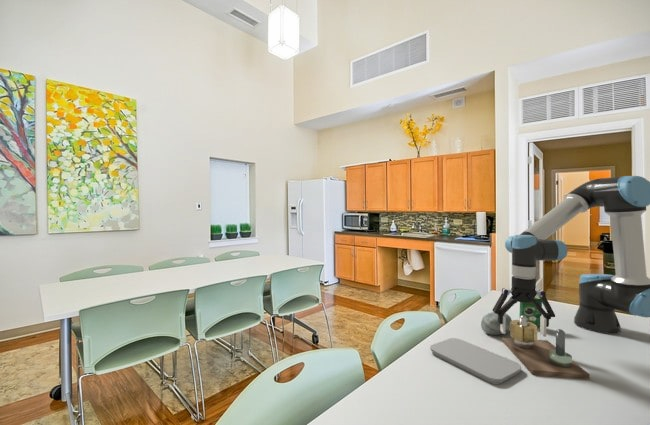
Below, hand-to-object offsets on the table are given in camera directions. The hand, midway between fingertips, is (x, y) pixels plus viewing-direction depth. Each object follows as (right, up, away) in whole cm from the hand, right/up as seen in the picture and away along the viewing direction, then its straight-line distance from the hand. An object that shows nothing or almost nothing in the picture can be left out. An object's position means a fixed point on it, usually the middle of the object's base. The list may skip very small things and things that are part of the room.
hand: (522, 333), depth 113 cm
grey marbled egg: (-1, -6, +16) cm, 17 cm away
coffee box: (+17, -6, +21) cm, 28 cm away
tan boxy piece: (0, -1, 0) cm, 1 cm away
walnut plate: (+2, -6, -6) cm, 9 cm away
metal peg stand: (+4, -5, -13) cm, 14 cm away
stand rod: (0, -4, 0) cm, 4 cm away
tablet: (-22, -7, -8) cm, 25 cm away
